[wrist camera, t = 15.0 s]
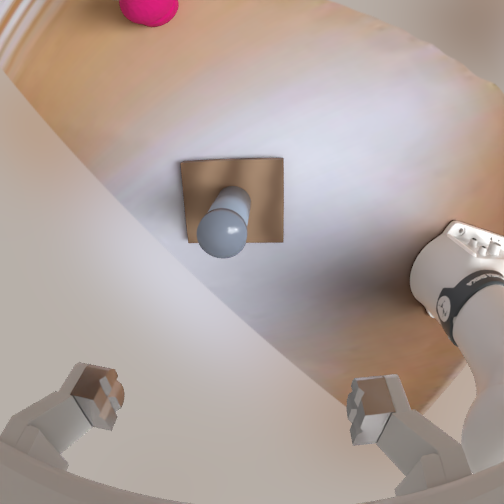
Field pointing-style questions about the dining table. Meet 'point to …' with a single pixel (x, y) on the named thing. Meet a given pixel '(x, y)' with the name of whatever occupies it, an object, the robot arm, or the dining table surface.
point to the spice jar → (225, 223)
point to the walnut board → (246, 177)
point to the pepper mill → (149, 11)
